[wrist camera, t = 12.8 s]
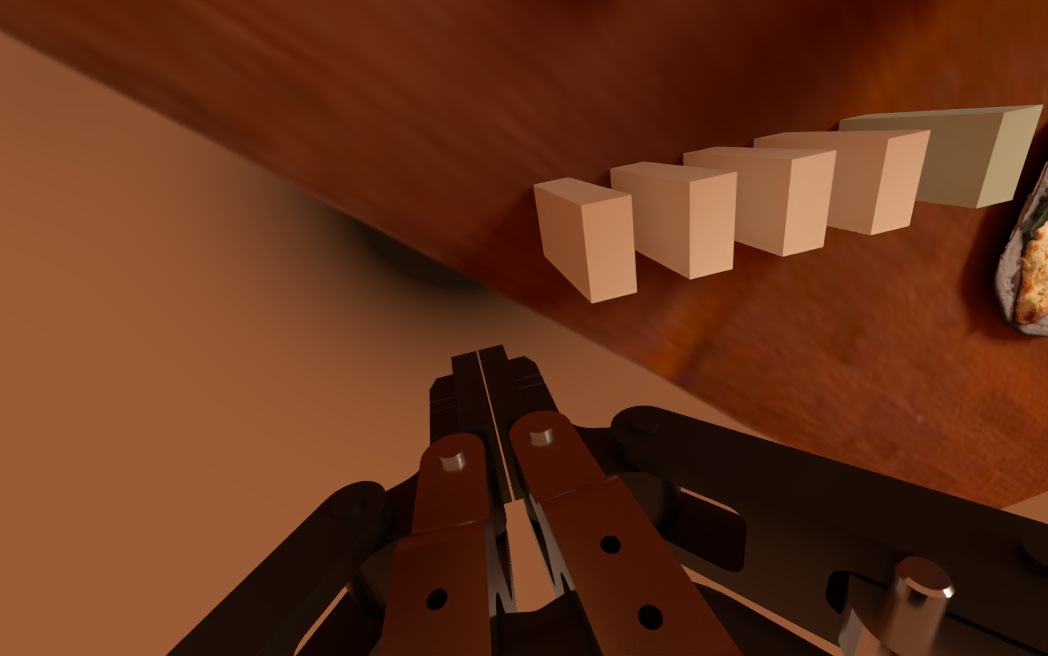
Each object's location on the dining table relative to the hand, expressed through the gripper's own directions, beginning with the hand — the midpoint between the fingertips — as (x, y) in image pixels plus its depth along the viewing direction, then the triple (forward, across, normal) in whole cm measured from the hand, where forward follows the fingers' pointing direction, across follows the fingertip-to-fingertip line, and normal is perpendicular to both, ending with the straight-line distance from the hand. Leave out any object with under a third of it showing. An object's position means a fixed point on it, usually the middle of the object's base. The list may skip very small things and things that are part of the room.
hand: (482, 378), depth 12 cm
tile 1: (+19, -8, 0) cm, 20 cm away
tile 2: (+19, -13, 0) cm, 23 cm away
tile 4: (+19, -24, 0) cm, 30 cm away
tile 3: (+19, -18, 0) cm, 26 cm away
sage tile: (+19, -31, 0) cm, 36 cm away
